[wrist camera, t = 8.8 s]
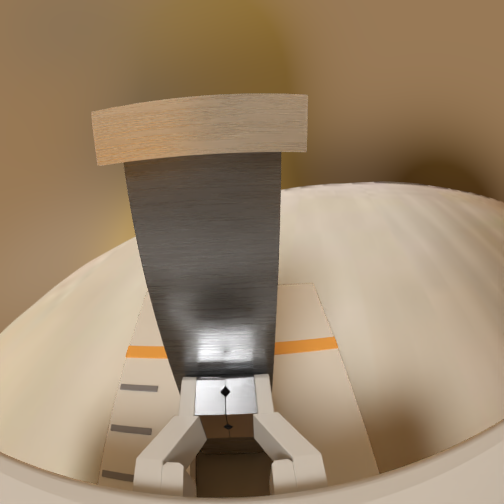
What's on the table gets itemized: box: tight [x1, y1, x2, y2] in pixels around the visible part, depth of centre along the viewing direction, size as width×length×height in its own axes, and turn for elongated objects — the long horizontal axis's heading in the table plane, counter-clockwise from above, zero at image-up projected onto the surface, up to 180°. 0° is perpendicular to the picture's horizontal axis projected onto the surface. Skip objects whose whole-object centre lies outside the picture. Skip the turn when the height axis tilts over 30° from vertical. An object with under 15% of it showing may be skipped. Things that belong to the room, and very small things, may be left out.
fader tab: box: [91, 94, 308, 454], centre depth 11 cm, size 4×4×16 cm
